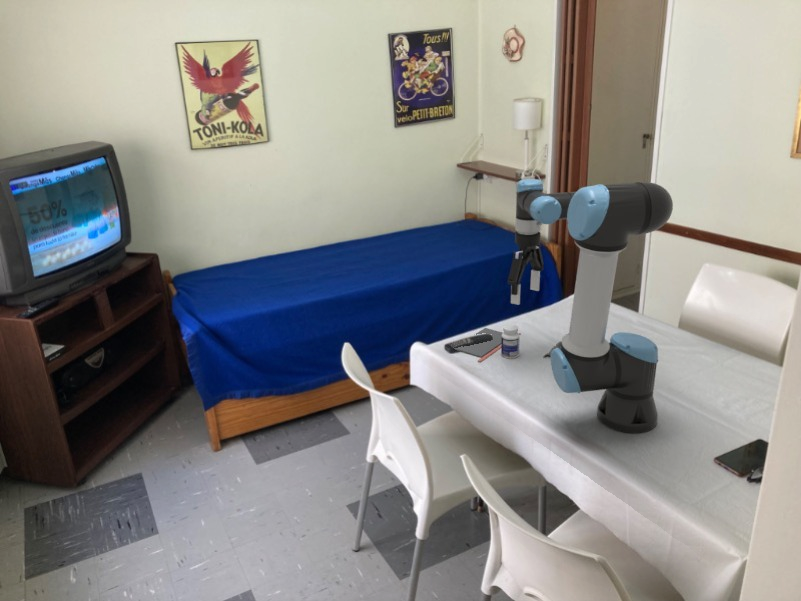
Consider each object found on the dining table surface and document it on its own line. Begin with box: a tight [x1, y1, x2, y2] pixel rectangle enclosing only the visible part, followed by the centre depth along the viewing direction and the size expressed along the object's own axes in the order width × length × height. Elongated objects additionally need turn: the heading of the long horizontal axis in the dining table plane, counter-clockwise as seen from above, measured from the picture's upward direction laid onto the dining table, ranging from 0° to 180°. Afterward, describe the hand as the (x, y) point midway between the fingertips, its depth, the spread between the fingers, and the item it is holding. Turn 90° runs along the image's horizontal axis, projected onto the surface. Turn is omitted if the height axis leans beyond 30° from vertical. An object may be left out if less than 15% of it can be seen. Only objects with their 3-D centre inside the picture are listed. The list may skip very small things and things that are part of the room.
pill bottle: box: [500, 324, 520, 360], centre depth 207 cm, size 6×6×10 cm
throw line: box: [477, 332, 522, 363], centre depth 214 cm, size 26×1×1 cm, turn 141°
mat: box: [453, 327, 504, 359], centre depth 218 cm, size 20×11×1 cm, turn 141°
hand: (525, 296), depth 203 cm, fingers open, 13 cm apart
